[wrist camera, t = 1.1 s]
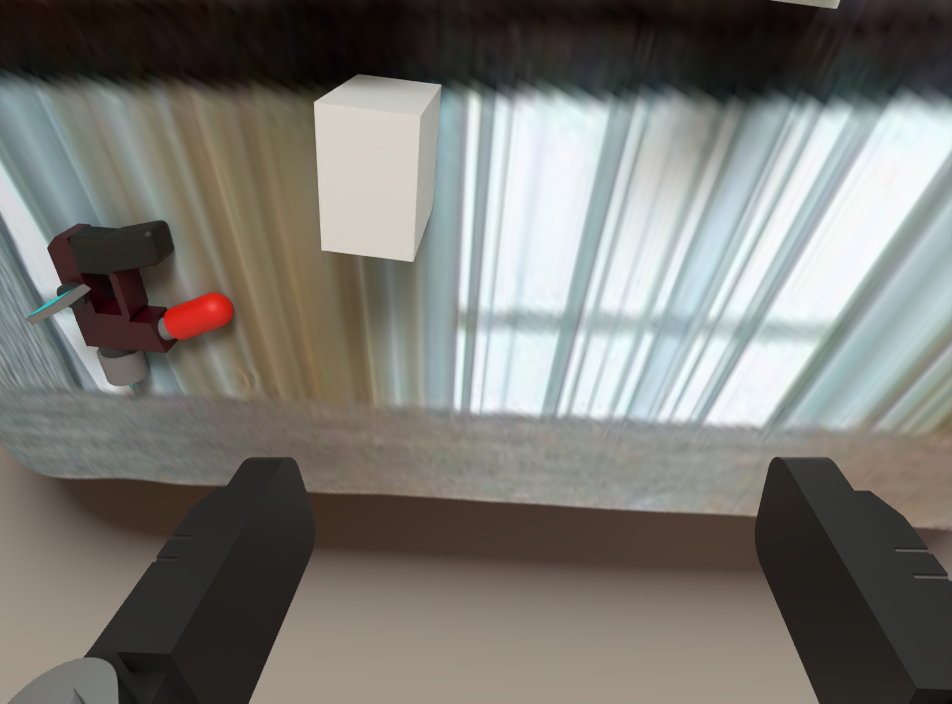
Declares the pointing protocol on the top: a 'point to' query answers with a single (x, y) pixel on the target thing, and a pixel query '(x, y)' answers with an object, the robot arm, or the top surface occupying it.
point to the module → (376, 165)
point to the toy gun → (124, 296)
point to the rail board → (814, 3)
